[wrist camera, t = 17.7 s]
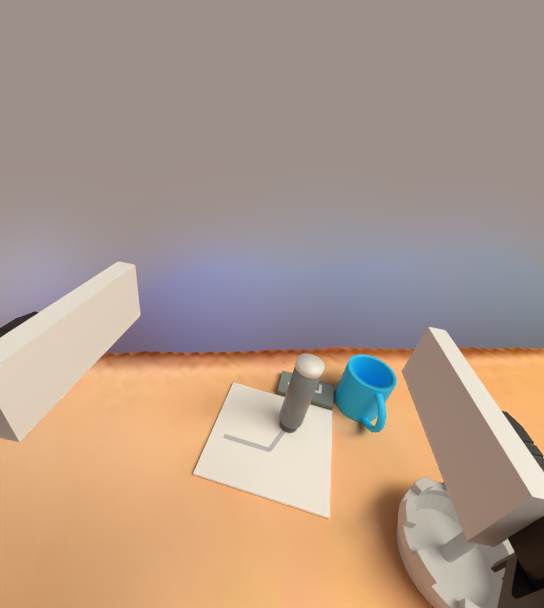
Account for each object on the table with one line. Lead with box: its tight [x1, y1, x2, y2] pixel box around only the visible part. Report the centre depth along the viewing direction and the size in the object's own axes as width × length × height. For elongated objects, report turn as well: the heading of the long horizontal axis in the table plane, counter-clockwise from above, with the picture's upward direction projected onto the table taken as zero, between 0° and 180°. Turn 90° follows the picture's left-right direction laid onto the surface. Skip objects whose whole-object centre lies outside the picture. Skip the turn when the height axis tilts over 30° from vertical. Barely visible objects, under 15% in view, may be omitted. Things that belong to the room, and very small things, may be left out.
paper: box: [193, 382, 332, 519], centre depth 42 cm, size 18×16×1 cm
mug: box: [334, 355, 397, 432], centre depth 47 cm, size 12×8×8 cm
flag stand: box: [396, 477, 514, 608], centre depth 25 cm, size 13×13×30 cm
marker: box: [279, 354, 325, 433], centre depth 41 cm, size 4×4×13 cm
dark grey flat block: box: [277, 371, 334, 410], centre depth 50 cm, size 10×5×1 cm, turn 78°
